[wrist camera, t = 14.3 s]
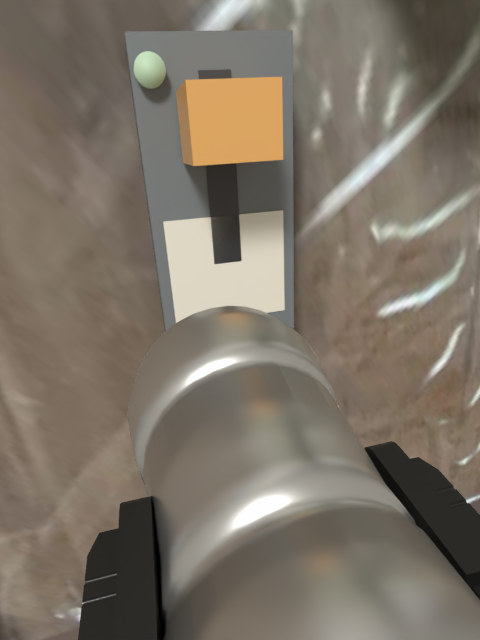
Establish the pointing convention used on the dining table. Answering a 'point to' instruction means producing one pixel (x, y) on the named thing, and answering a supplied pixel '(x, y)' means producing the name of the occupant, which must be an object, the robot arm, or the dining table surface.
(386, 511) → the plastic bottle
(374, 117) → the dining table surface
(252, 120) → the lever
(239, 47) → the box
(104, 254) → the dining table surface
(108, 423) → the dining table surface
